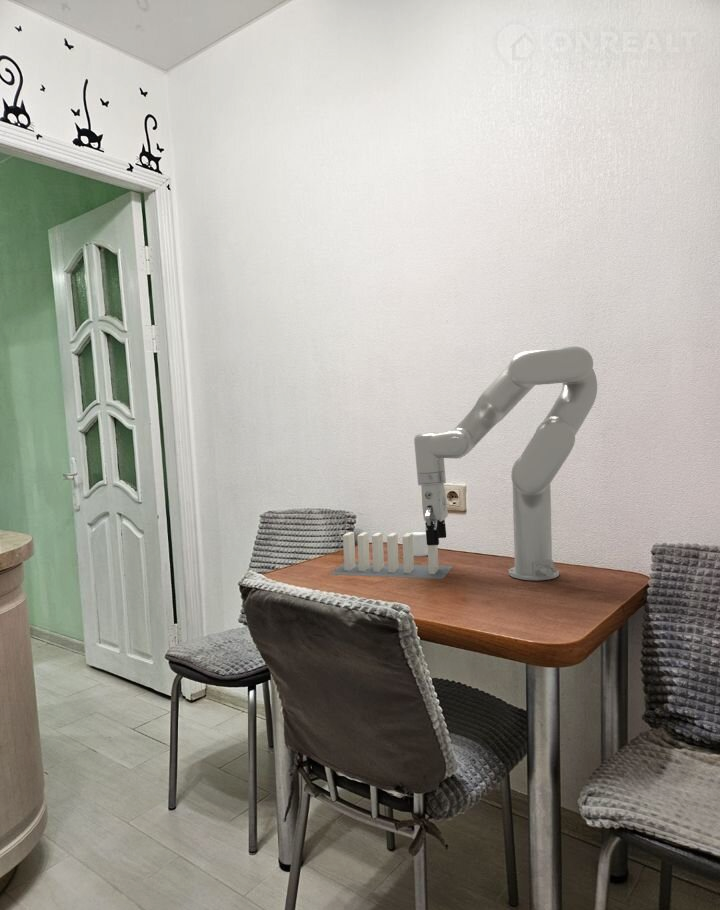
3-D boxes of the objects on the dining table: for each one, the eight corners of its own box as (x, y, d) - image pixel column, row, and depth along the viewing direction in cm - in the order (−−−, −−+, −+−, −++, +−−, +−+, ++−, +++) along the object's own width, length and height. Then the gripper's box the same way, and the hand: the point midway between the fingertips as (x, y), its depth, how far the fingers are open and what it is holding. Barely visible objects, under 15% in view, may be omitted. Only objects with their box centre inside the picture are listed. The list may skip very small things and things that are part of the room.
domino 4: (398, 568, 182) (397, 532, 181) (393, 572, 177) (392, 536, 177) (393, 567, 182) (391, 532, 182) (388, 572, 178) (386, 536, 177)
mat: (452, 567, 182) (452, 566, 182) (443, 580, 168) (442, 578, 168) (345, 563, 192) (345, 562, 192) (328, 575, 179) (328, 574, 179)
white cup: (403, 555, 201) (402, 532, 200) (422, 552, 204) (422, 530, 203) (414, 559, 194) (413, 535, 194) (434, 556, 197) (433, 533, 197)
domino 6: (438, 569, 178) (437, 533, 178) (434, 574, 174) (433, 537, 173) (432, 569, 179) (431, 533, 178) (428, 573, 174) (427, 536, 173)
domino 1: (355, 566, 186) (354, 532, 186) (349, 570, 181) (348, 535, 181) (350, 566, 187) (348, 532, 186) (344, 570, 182) (342, 535, 181)
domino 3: (384, 567, 183) (382, 532, 183) (378, 571, 179) (377, 535, 178) (378, 567, 184) (377, 532, 183) (373, 571, 179) (371, 535, 179)
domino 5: (413, 568, 181) (412, 533, 180) (409, 573, 176) (408, 536, 175) (408, 568, 181) (407, 533, 180) (403, 572, 176) (402, 536, 176)
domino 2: (369, 567, 185) (368, 532, 184) (364, 571, 180) (362, 535, 179) (364, 566, 185) (363, 532, 185) (358, 571, 180) (357, 535, 180)
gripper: (438, 481, 165) (444, 547, 166) (451, 474, 182) (456, 534, 182) (410, 483, 168) (415, 548, 168) (425, 476, 184) (430, 535, 185)
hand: (436, 541), depth 175 cm, fingers open, 9 cm apart
